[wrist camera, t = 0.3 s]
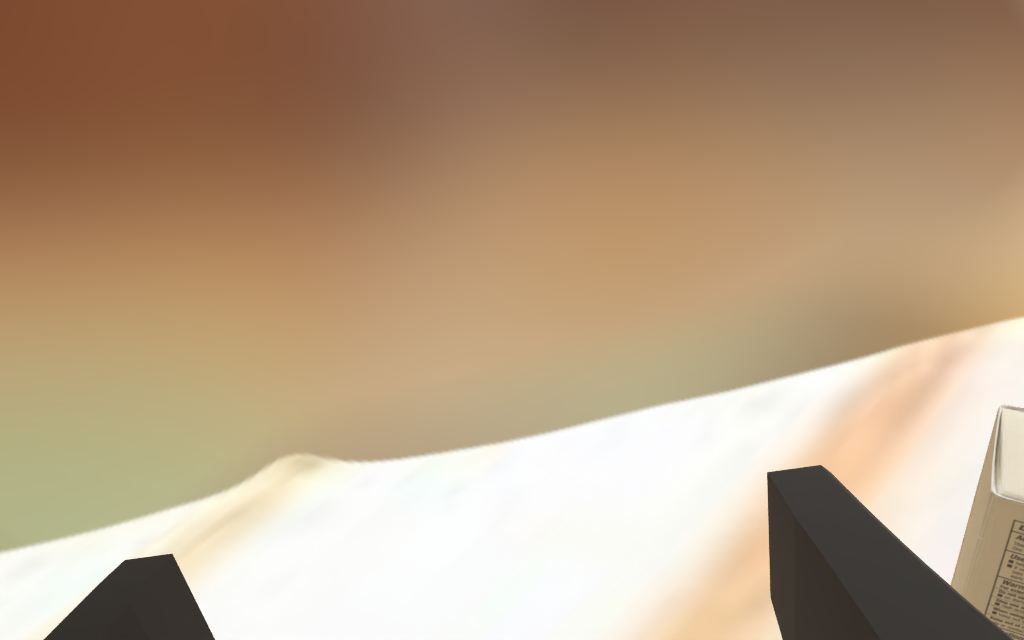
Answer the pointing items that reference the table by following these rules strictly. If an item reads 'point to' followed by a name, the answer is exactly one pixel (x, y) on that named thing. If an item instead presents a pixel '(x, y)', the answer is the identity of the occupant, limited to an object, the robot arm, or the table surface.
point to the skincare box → (997, 530)
